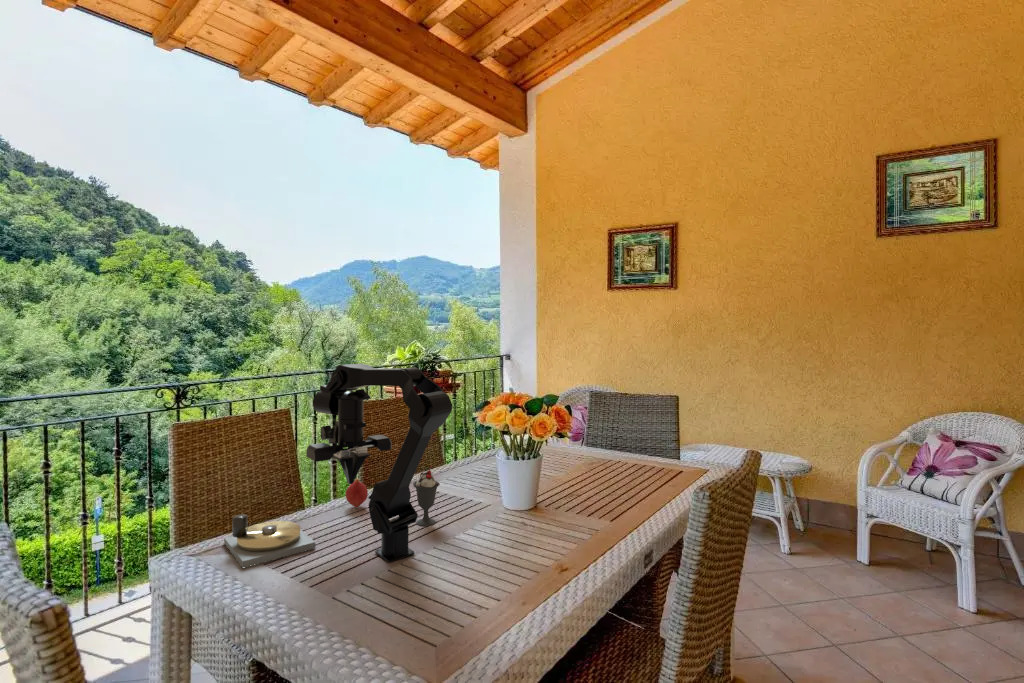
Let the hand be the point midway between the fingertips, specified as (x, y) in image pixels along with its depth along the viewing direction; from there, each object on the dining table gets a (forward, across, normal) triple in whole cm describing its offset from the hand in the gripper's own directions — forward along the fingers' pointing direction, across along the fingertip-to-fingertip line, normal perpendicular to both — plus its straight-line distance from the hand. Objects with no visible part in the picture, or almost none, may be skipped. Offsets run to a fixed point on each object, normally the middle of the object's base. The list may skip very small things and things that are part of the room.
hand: (350, 483), depth 125 cm
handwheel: (+11, +16, -7) cm, 21 cm away
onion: (+13, -10, -18) cm, 24 cm away
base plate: (+13, +16, -7) cm, 22 cm away
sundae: (+13, -19, +3) cm, 23 cm away
